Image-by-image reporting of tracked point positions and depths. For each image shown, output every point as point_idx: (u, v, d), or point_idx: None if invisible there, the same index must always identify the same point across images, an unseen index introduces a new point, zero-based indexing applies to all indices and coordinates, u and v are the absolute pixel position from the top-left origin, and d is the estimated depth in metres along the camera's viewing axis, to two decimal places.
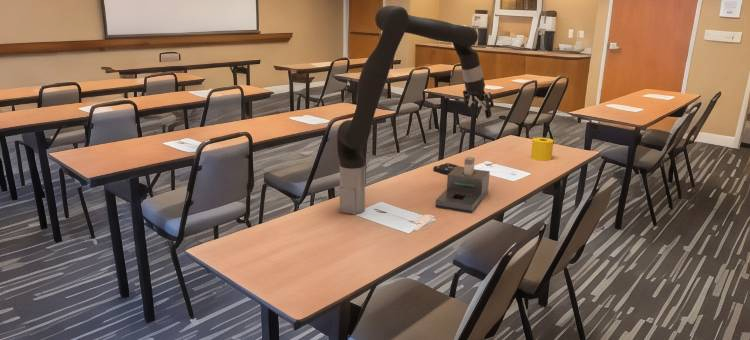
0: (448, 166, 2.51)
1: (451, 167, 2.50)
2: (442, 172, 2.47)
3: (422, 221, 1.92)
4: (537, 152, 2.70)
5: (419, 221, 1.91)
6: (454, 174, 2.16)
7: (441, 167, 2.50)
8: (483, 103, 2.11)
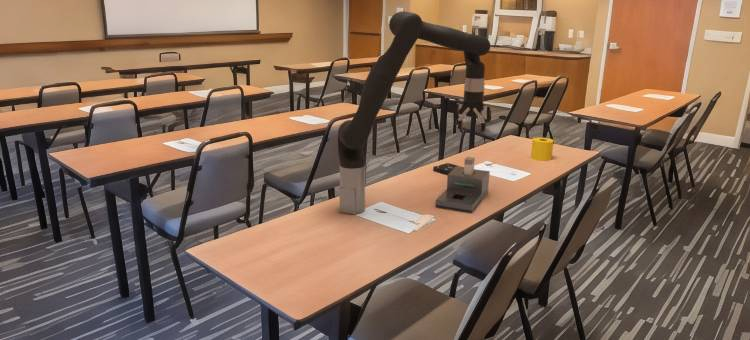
0: (448, 166, 2.51)
1: (451, 167, 2.50)
2: (442, 172, 2.47)
3: (422, 221, 1.92)
4: (537, 152, 2.70)
5: (419, 221, 1.92)
6: (454, 174, 2.16)
7: (441, 167, 2.50)
8: (482, 116, 2.09)
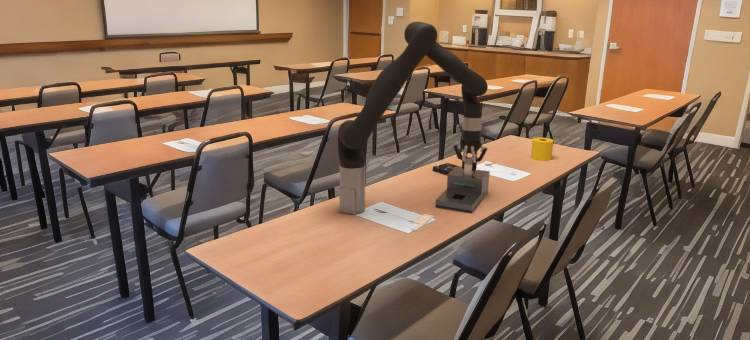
0: (448, 166, 2.51)
1: (450, 167, 2.50)
2: (441, 172, 2.47)
3: (421, 221, 1.92)
4: (537, 152, 2.70)
5: (418, 221, 1.92)
6: (454, 174, 2.16)
7: (440, 167, 2.50)
8: (475, 156, 2.14)
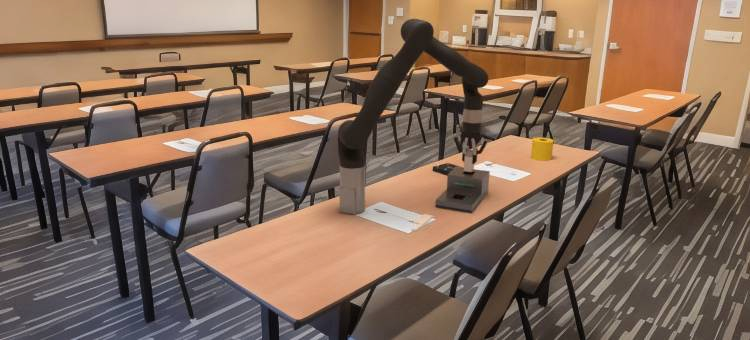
0: (447, 166, 2.51)
1: (450, 167, 2.50)
2: (441, 172, 2.47)
3: (421, 221, 1.92)
4: (537, 152, 2.70)
5: (418, 221, 1.92)
6: (454, 174, 2.16)
7: (440, 167, 2.50)
8: (475, 148, 2.13)
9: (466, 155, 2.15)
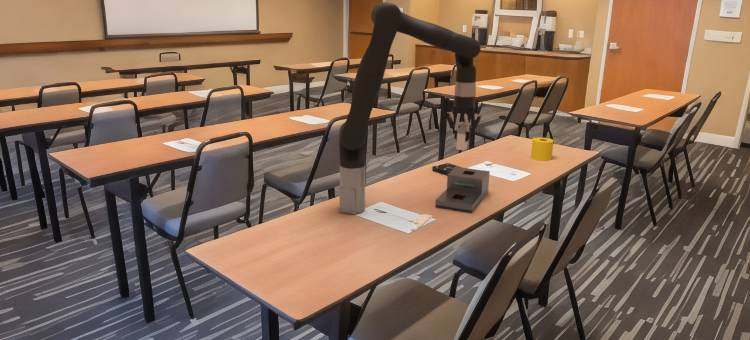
0: (447, 166, 2.51)
1: (450, 167, 2.49)
2: (440, 172, 2.47)
3: (420, 221, 1.92)
4: (537, 152, 2.70)
5: (417, 221, 1.92)
6: (454, 174, 2.16)
7: (440, 167, 2.50)
8: (469, 124, 1.99)
9: (458, 132, 2.00)
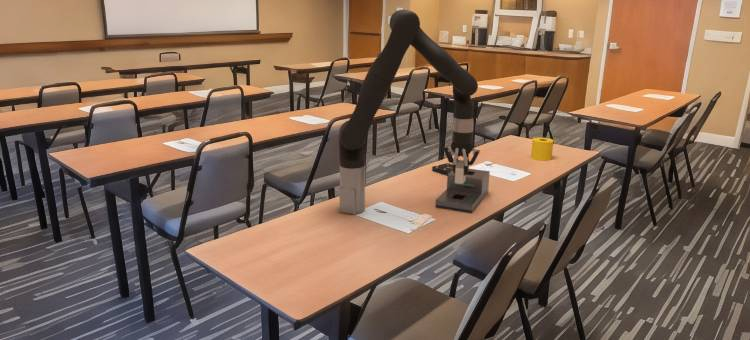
0: (447, 166, 2.51)
1: (450, 167, 2.49)
2: (440, 172, 2.47)
3: (419, 221, 1.92)
4: (537, 152, 2.70)
5: (416, 221, 1.92)
6: (454, 174, 2.16)
7: (440, 167, 2.50)
8: (467, 159, 2.02)
9: (457, 166, 2.04)
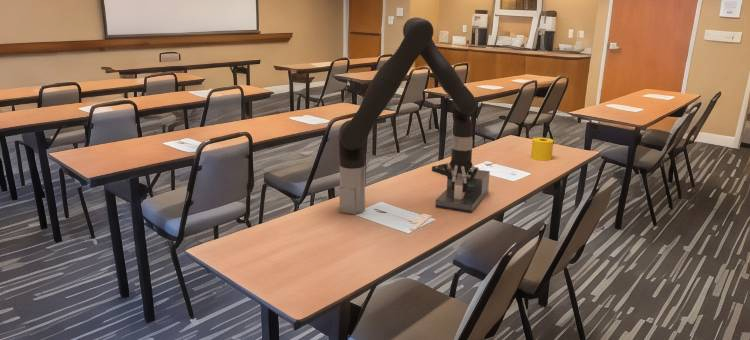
0: None
1: None
2: (440, 172, 2.47)
3: (419, 220, 1.92)
4: (537, 152, 2.70)
5: (416, 220, 1.92)
6: None
7: (439, 167, 2.50)
8: (466, 176, 2.04)
9: (456, 183, 2.06)
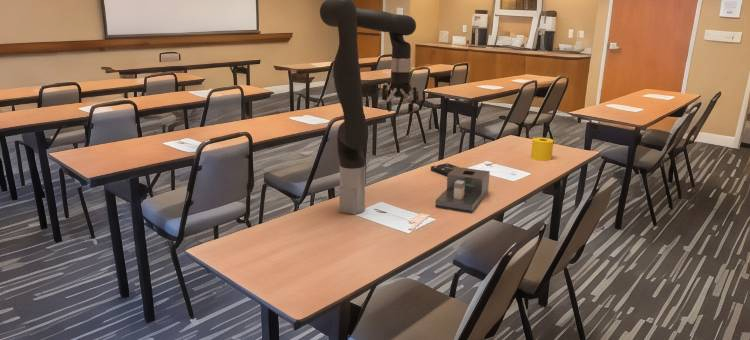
0: (446, 166, 2.51)
1: (448, 167, 2.49)
2: (438, 172, 2.47)
3: (417, 220, 1.92)
4: (537, 152, 2.70)
5: (414, 220, 1.92)
6: (454, 174, 2.16)
7: (438, 167, 2.50)
8: (409, 97, 2.08)
9: (455, 186, 2.06)
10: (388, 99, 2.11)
